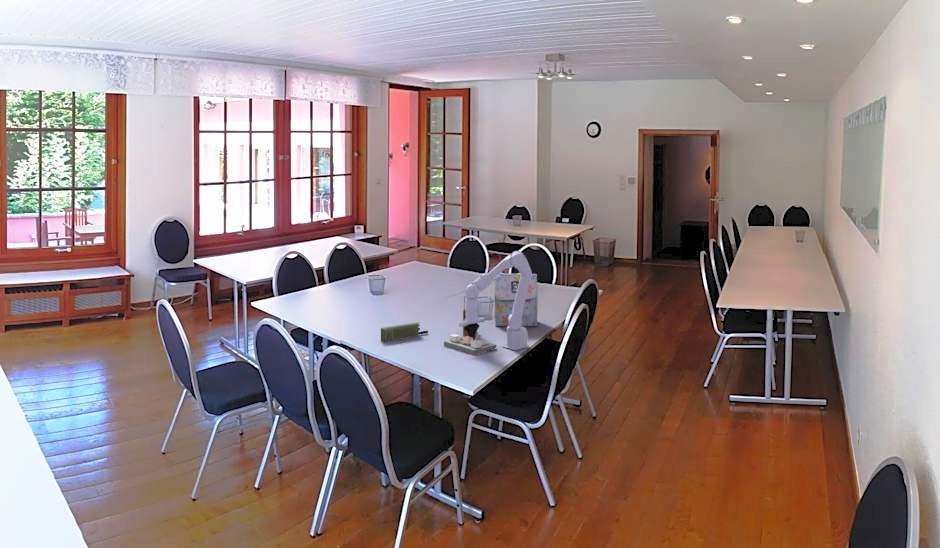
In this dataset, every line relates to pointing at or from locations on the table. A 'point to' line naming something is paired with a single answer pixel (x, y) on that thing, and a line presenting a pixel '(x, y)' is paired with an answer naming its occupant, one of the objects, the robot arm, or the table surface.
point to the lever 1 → (454, 338)
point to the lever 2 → (475, 344)
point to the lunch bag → (506, 297)
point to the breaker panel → (467, 347)
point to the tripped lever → (467, 340)
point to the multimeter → (463, 320)
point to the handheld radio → (401, 331)
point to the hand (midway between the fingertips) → (471, 339)
